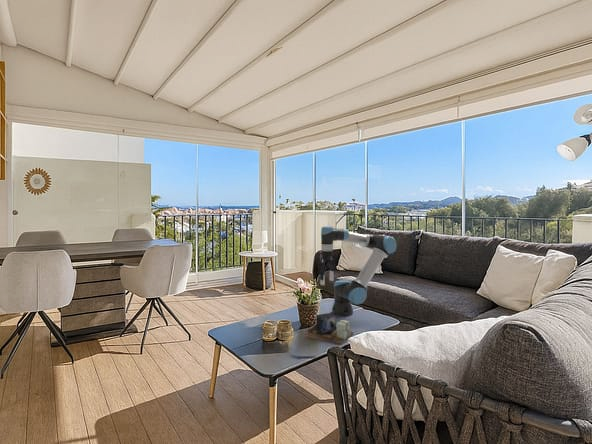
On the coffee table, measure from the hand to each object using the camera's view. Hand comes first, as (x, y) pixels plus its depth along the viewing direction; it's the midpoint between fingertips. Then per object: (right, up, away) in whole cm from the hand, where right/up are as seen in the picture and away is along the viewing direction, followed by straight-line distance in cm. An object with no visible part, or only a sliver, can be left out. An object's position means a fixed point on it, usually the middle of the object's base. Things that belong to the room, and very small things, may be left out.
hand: (327, 282), depth 234 cm
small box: (-2, -27, -19) cm, 33 cm away
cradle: (0, -28, -20) cm, 35 cm away
